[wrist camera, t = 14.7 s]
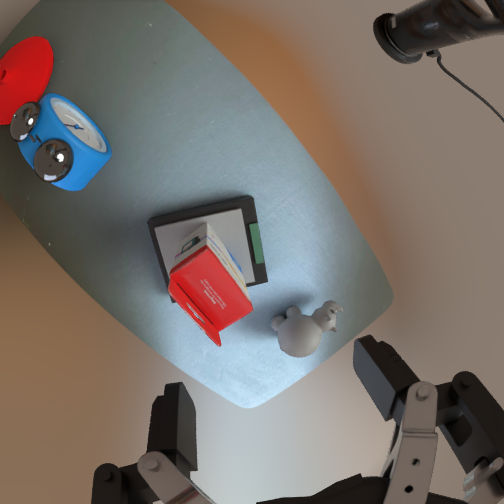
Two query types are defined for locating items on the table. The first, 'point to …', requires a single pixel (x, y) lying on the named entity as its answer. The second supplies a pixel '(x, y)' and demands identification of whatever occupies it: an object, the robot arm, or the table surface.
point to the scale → (224, 225)
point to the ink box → (208, 282)
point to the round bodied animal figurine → (304, 328)
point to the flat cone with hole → (24, 75)
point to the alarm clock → (59, 141)
